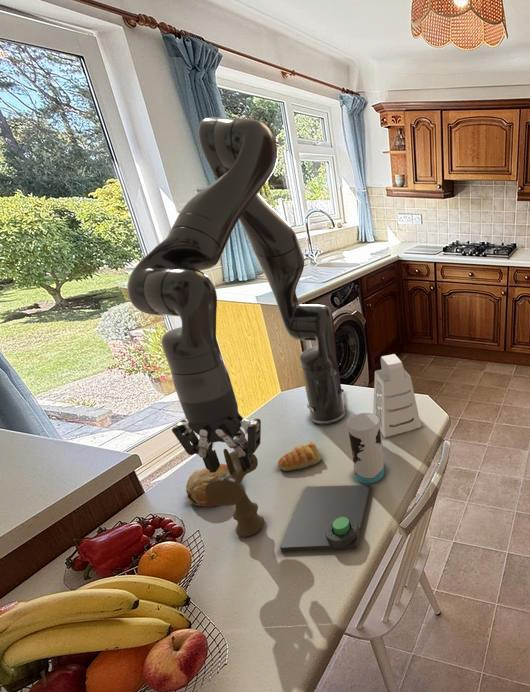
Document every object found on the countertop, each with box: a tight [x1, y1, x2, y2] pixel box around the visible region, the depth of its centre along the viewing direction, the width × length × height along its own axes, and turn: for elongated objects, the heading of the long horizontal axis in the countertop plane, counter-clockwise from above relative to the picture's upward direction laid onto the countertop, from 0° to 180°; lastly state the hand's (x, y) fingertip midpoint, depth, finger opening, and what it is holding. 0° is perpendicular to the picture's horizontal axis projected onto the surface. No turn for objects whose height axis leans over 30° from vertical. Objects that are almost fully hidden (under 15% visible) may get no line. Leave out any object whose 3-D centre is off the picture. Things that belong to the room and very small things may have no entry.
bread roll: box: [185, 463, 227, 508], centre depth 89 cm, size 10×10×8 cm
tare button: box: [333, 517, 350, 536], centre depth 78 cm, size 3×3×2 cm
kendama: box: [205, 448, 265, 538], centre depth 77 cm, size 6×10×20 cm, turn 8°
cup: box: [346, 412, 385, 485], centre depth 93 cm, size 7×7×15 cm
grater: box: [372, 353, 422, 438], centre depth 111 cm, size 10×10×20 cm
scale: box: [279, 484, 372, 553], centre depth 83 cm, size 16×14×3 cm
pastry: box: [277, 441, 322, 472], centre depth 98 cm, size 9×7×4 cm
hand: (231, 468), depth 74 cm, fingers open, 5 cm apart
